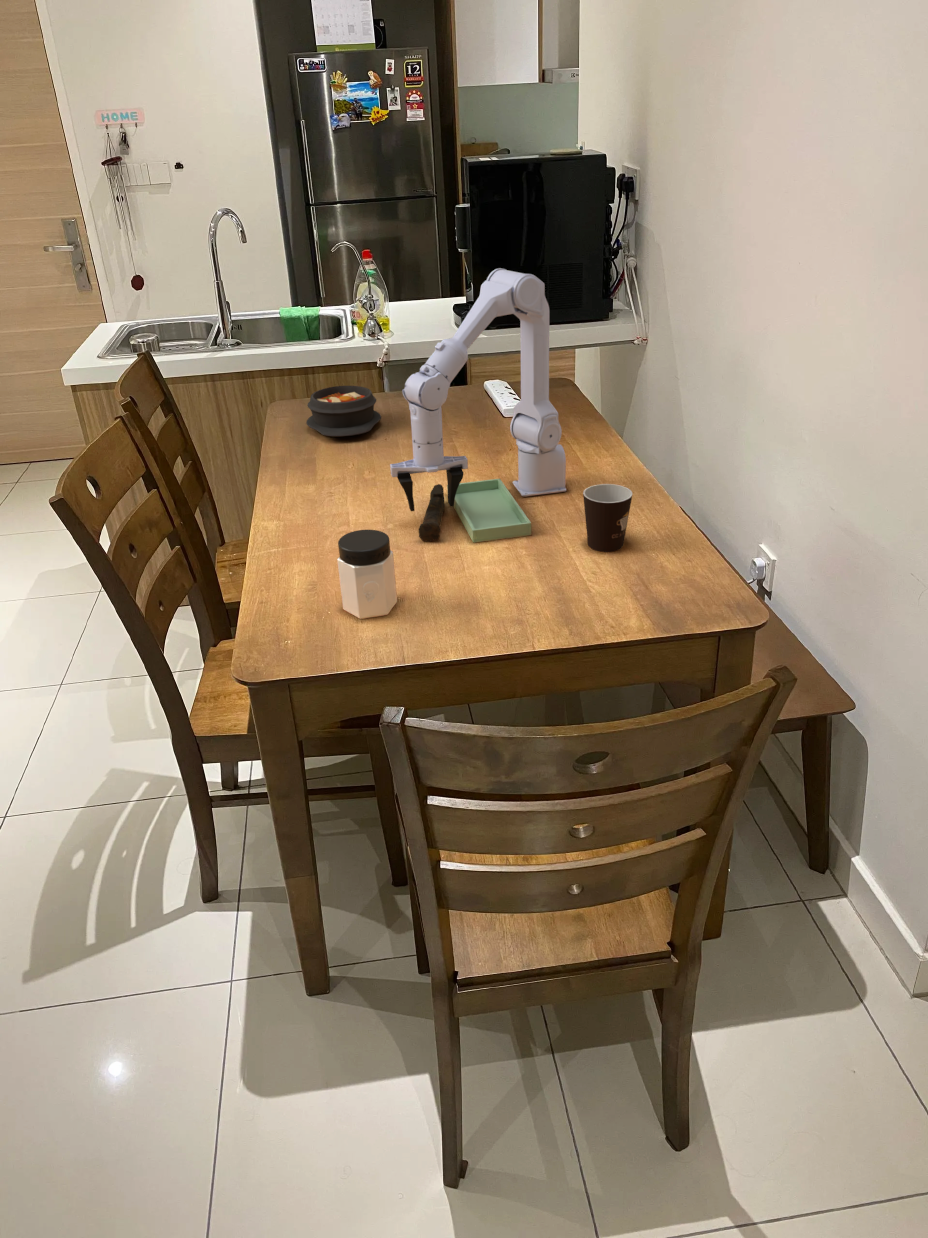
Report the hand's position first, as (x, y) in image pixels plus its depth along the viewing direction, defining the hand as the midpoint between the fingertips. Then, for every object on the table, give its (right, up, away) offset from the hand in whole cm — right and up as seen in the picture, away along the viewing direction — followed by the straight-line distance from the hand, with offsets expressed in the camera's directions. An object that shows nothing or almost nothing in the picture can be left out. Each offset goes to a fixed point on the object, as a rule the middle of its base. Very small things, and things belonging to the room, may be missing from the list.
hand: (431, 506), depth 180 cm
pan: (+11, -1, +3) cm, 12 cm away
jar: (-9, -20, -27) cm, 34 cm away
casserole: (-24, +26, +53) cm, 64 cm away
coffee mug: (+33, -8, -9) cm, 36 cm away
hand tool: (0, -3, +2) cm, 3 cm away
